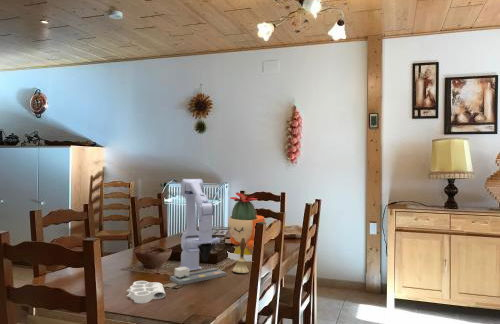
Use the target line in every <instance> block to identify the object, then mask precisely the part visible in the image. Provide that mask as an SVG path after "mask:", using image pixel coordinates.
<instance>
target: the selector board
mask: <svg viewBox="0 0 500 324" xmlns="http://www.w3.org/2000/svg"><path fill="white" fill-rule="evenodd" d="M225 276H227V272H226V271H224V270H221V269H219V268H216V267H213V268H208V269H207V268H206V269H204V270H203V269H201V270H198V271H193V272H191V271H190V272H189V276H188V277H187V278H186V277H178V276H176V275H171V276H169V280H170V281H172V282H173V283H175V284H177V285H179V286H183V284H184V285H187V284H188V285H189V284H193V283H197V282H202V281H203V282H204V281H207V280H213V279H216V278H222V277H225Z"/></svg>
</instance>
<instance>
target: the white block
mask: <svg viewBox="0 0 500 324" xmlns="http://www.w3.org/2000/svg"><path fill="white" fill-rule="evenodd" d="M189 273H191V271H190V269H189V268H187V267H185V266H184V267H179V266H178V267H175V268H174V276H178V277H186V278H187V277H188V276H189Z"/></svg>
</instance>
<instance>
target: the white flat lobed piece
mask: <svg viewBox="0 0 500 324" xmlns="http://www.w3.org/2000/svg"><path fill="white" fill-rule="evenodd" d="M125 291H126V292H128V294H127V295H126V297H129V299H130V300H133V303H135V304H146V303H149V302H150V301H151V300H159V299H163V298H164V297H166V292H165V288H164V287H163V284H162V283H161V282H156V281H155V282H151V281H150V282H149V281H146V280H137V281H134V282H133V283H132V285H130V286H129V288H128V289H127V290H125Z"/></svg>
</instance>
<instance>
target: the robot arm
mask: <svg viewBox="0 0 500 324" xmlns="http://www.w3.org/2000/svg"><path fill="white" fill-rule="evenodd" d="M203 189H204V182H203V179H202V178H182V180H181V182H180V191H181V193H180V194H181V196H182V197H184V200H185V216H186V217H185V218H186V230H185V231H184V232H182V234H181V237H180V238H181V240H180V247H181V250H182V251H181V254H180V265H179V266H178V268H179V267H184V266H185V267H187V268H189V269H190V272H191V271H196V270H203V267H201V266H200V255H201V260H202V261H203V262H208V259H209V256H210V253H211V252H212V251H211V250H212V249H213V248H214V245H213V244H219V243H221V237H213V216H214V215H215V206H214V205H215V204H214V203H213V202H212V201H209V198H208V196H207V195H206V193H204V192H203ZM196 208H197V209H196ZM196 210H197V214H196ZM197 219H198V229H197Z"/></svg>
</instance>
